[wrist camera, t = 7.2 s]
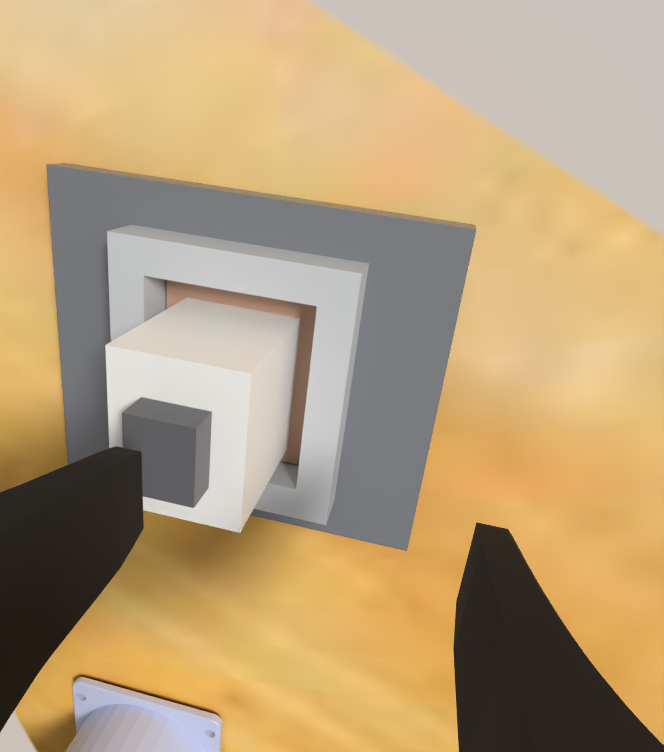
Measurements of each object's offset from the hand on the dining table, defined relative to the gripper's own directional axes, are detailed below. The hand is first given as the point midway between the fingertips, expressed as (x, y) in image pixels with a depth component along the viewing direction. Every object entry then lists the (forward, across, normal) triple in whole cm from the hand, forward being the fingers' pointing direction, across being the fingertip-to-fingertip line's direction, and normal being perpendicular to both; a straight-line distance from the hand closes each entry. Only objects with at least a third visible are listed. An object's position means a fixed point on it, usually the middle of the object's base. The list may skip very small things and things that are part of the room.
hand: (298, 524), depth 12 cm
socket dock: (+9, +4, +1) cm, 10 cm away
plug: (+8, +4, +1) cm, 9 cm away
